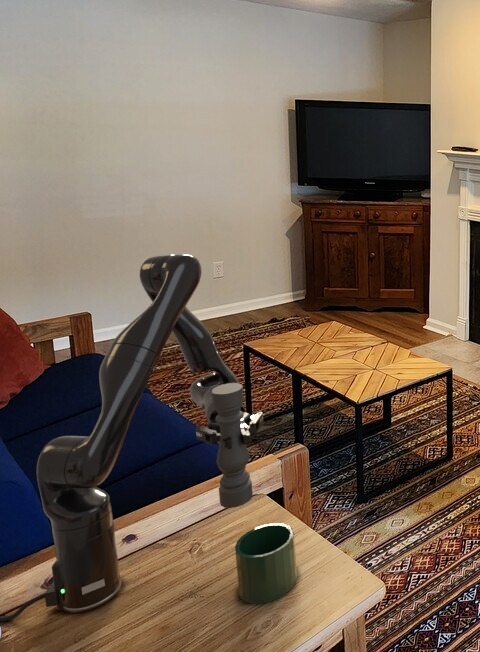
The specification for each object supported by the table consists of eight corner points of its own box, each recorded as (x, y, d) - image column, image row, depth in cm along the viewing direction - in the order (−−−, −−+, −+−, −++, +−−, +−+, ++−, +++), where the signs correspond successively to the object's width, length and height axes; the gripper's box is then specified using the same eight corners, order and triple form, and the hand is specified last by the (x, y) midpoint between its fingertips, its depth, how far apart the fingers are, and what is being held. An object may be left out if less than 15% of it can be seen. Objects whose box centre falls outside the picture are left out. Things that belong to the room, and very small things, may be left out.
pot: (233, 608, 119) (229, 562, 117) (245, 571, 129) (241, 528, 127) (292, 597, 122) (289, 552, 120) (299, 562, 132) (296, 519, 130)
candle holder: (257, 490, 134) (249, 382, 130) (245, 507, 128) (236, 394, 124) (228, 491, 134) (219, 382, 130) (214, 508, 128) (204, 395, 124)
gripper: (188, 403, 136) (197, 435, 122) (257, 388, 144) (273, 416, 130) (191, 435, 137) (200, 470, 124) (259, 418, 145) (275, 449, 132)
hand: (237, 442), depth 127 cm, fingers closed on candle holder, 2 cm apart
